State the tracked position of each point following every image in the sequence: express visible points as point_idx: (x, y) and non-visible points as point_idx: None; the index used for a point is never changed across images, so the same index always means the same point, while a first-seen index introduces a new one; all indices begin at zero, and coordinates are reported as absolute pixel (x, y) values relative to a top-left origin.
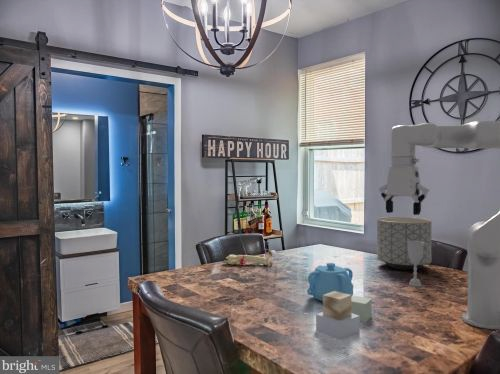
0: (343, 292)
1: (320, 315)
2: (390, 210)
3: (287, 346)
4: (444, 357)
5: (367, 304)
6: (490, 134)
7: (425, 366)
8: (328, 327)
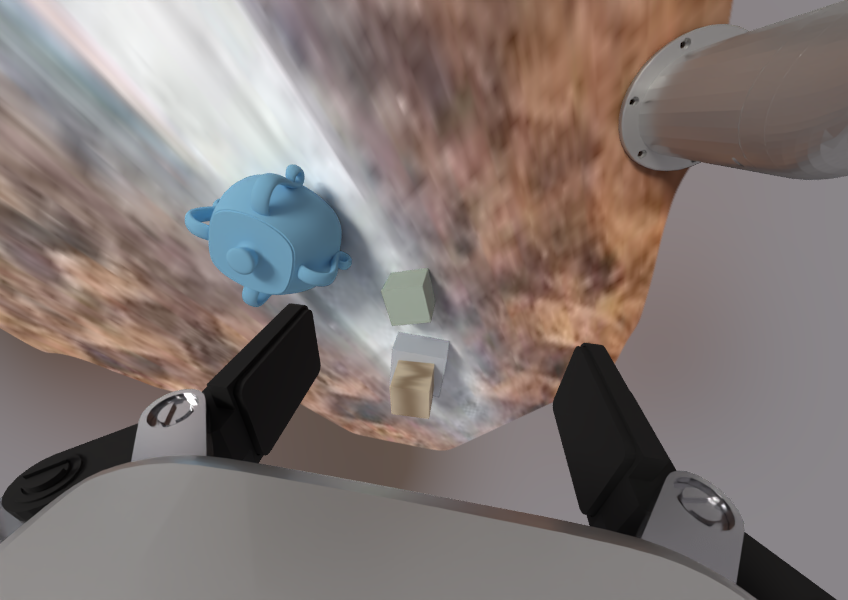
0: (340, 267)
1: None
2: (308, 353)
3: (406, 420)
4: None
5: (429, 309)
6: None
7: None
8: None
